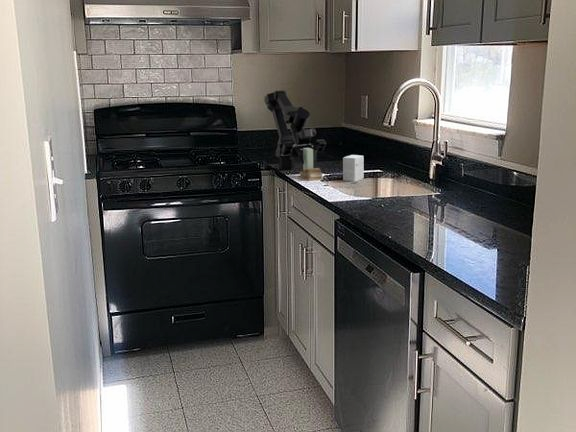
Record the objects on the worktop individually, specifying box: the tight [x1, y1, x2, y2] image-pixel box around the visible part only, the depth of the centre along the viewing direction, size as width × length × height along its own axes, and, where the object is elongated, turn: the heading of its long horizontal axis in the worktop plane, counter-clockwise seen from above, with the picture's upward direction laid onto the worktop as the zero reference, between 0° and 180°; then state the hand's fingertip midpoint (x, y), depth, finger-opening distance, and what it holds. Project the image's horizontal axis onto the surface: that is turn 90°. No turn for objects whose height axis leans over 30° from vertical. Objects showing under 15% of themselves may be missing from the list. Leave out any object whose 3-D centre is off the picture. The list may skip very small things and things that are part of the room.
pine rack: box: [297, 167, 324, 182], centre depth 272 cm, size 12×7×5 cm, turn 21°
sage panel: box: [302, 148, 314, 170], centre depth 273 cm, size 5×3×12 cm, turn 21°
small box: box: [342, 154, 365, 184], centre depth 266 cm, size 8×6×10 cm
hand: (309, 163), depth 271 cm, fingers open, 5 cm apart
